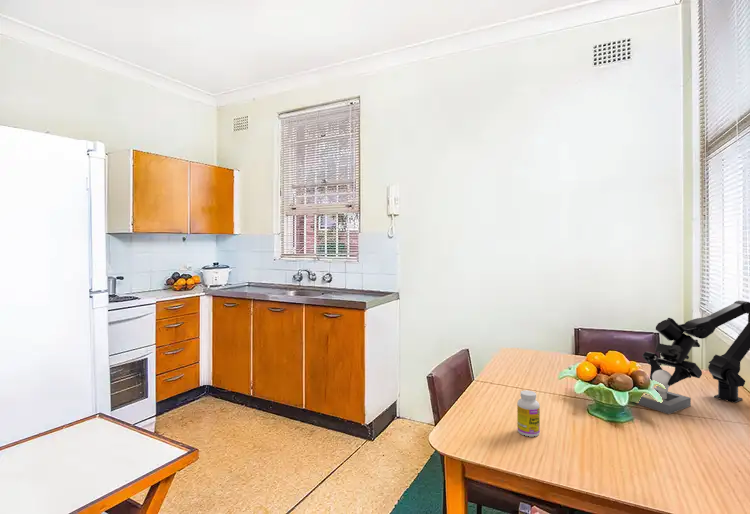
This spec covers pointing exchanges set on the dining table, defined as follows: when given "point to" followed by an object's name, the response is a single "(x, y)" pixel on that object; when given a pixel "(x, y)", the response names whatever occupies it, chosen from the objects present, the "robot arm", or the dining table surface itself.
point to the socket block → (666, 402)
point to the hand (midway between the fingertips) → (659, 382)
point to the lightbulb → (662, 381)
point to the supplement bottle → (528, 414)
